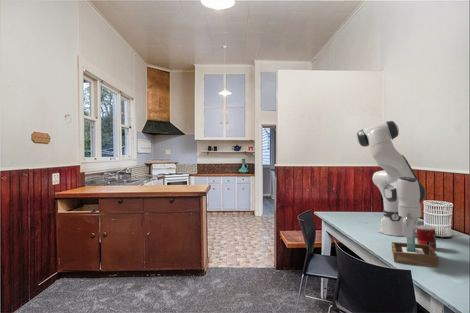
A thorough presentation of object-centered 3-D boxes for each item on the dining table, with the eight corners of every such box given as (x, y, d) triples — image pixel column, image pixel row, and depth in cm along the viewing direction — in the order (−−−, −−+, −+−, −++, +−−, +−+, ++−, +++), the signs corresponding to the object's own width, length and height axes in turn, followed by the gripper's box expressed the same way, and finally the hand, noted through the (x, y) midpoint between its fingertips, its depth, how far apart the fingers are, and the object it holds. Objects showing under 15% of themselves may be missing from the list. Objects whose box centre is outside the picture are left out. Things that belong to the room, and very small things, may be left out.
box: (392, 251, 134) (391, 241, 134) (431, 255, 126) (430, 245, 126) (394, 263, 119) (393, 252, 120) (438, 268, 112) (437, 256, 112)
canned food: (430, 252, 131) (429, 229, 131) (414, 247, 138) (412, 226, 138) (440, 249, 134) (438, 227, 134) (423, 245, 141) (422, 224, 142)
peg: (406, 251, 125) (404, 225, 125) (413, 251, 124) (412, 225, 125) (409, 253, 122) (408, 227, 122) (416, 253, 121) (415, 227, 121)
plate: (402, 254, 128) (401, 246, 128) (422, 256, 125) (421, 248, 125) (403, 259, 121) (403, 252, 121) (425, 262, 117) (424, 254, 118)
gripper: (415, 217, 113) (417, 249, 113) (419, 209, 129) (421, 238, 129) (398, 215, 117) (399, 247, 117) (404, 208, 133) (405, 236, 133)
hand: (411, 242), depth 123 cm, fingers closed on peg, 3 cm apart
